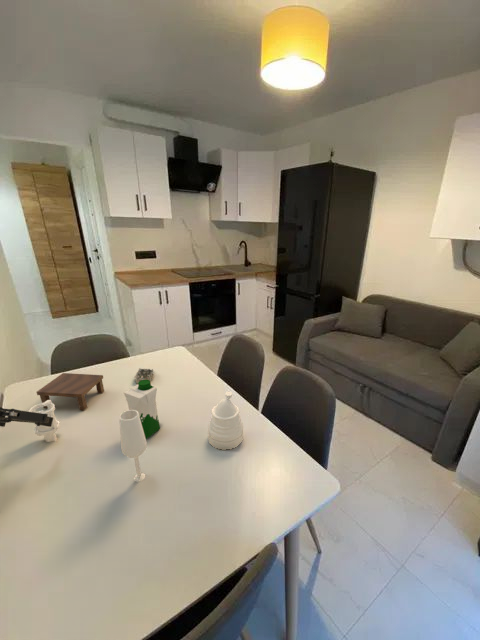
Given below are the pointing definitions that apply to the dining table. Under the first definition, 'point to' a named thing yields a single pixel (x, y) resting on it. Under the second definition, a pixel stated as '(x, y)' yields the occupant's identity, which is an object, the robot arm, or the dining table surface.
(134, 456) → the champagne flute
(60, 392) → the low table
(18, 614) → the dining table surface
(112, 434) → the dining table surface
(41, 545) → the dining table surface
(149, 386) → the milk carton
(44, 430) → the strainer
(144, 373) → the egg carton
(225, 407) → the honey pot
